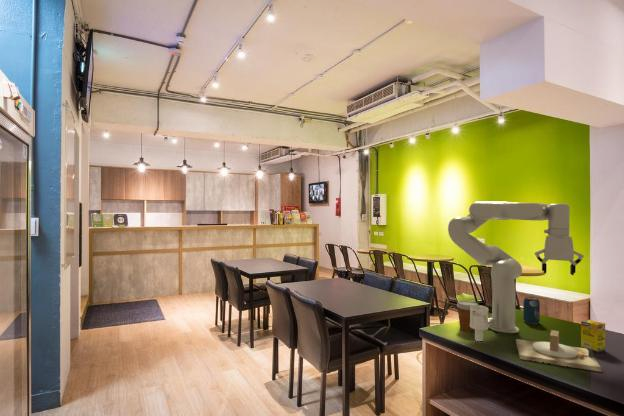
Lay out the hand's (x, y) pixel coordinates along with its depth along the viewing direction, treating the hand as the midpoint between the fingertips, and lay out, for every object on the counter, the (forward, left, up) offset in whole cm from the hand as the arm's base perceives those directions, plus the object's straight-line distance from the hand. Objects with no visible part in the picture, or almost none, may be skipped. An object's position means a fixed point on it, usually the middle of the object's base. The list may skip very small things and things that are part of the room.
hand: (558, 273), depth 158 cm
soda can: (-7, +28, -28) cm, 41 cm away
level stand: (-4, -20, -28) cm, 35 cm away
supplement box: (+11, -5, -28) cm, 31 cm away
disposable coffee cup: (-35, 0, -28) cm, 45 cm away
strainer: (-30, -15, -28) cm, 44 cm away
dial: (-3, -20, -27) cm, 34 cm away
